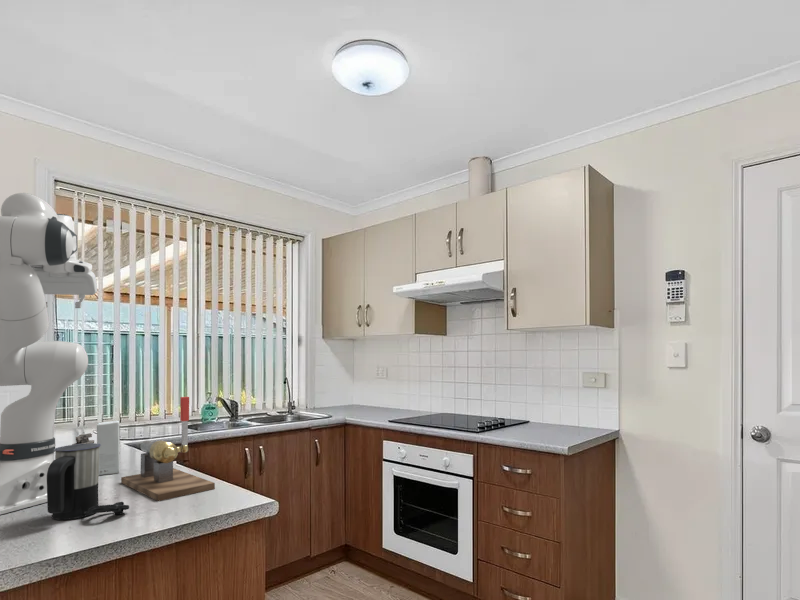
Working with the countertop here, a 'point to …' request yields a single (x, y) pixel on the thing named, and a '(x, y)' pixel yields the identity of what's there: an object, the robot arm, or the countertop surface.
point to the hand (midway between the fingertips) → (61, 307)
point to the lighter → (84, 439)
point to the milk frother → (76, 483)
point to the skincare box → (108, 447)
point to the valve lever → (184, 422)
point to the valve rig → (164, 474)
